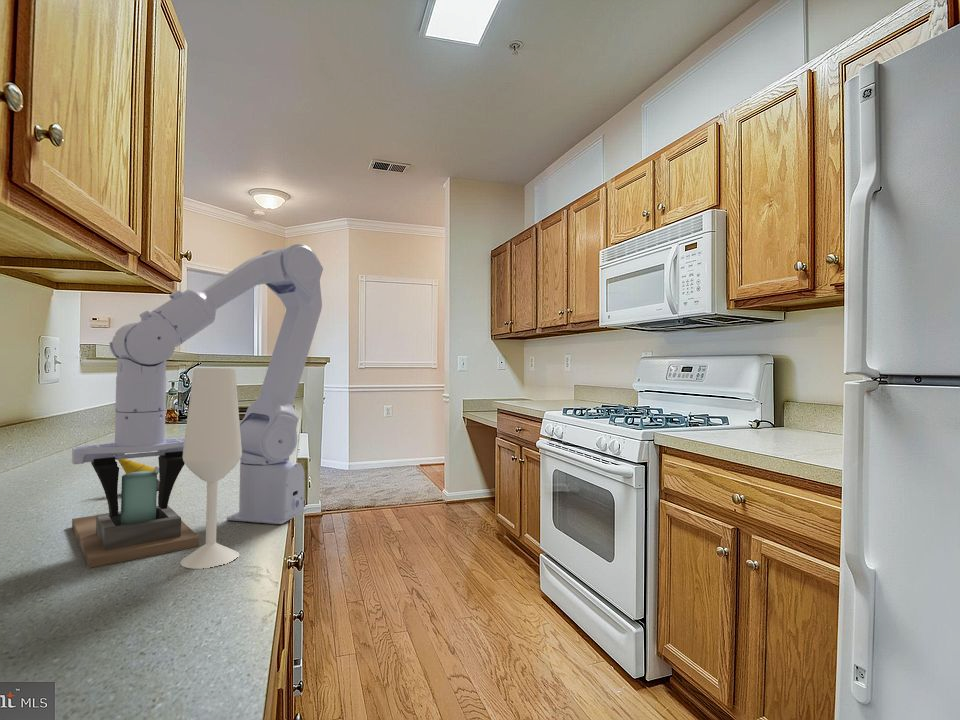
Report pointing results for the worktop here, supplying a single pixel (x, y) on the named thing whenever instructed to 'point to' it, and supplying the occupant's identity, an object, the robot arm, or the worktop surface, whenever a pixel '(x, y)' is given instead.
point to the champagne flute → (212, 450)
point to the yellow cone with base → (137, 467)
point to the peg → (138, 497)
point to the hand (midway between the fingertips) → (138, 511)
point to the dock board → (131, 537)
